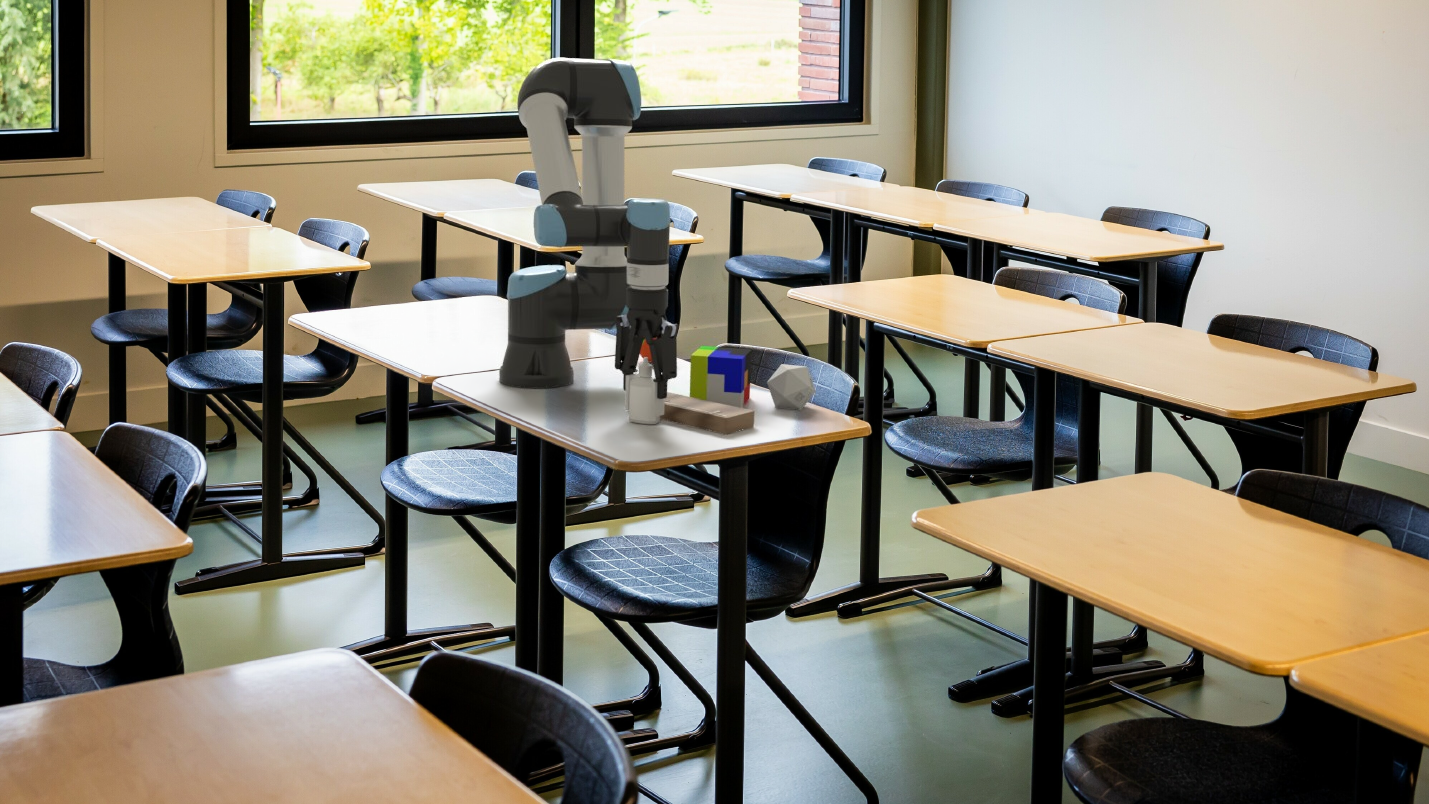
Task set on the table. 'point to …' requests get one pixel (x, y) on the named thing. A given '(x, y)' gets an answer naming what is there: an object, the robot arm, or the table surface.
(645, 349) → the clementine
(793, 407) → the die
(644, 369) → the eye dropper bottle
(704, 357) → the puzzle toy
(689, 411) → the walnut block
